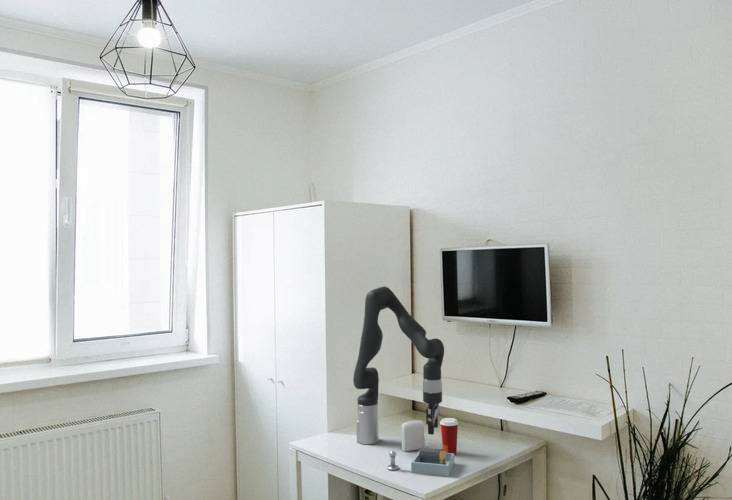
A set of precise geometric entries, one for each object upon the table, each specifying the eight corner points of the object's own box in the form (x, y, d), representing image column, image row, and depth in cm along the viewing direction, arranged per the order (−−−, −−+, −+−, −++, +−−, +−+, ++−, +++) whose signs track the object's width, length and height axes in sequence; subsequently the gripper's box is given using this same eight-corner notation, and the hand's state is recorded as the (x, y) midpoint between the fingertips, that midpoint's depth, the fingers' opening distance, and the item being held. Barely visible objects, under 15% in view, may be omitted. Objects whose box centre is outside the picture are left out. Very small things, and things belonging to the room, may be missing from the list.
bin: (411, 472, 224) (411, 462, 224) (419, 460, 237) (419, 450, 237) (448, 476, 219) (448, 465, 219) (454, 463, 233) (454, 453, 233)
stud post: (386, 470, 227) (385, 452, 227) (389, 466, 231) (388, 448, 231) (396, 471, 225) (396, 453, 225) (399, 467, 230) (399, 449, 230)
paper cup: (461, 451, 247) (460, 418, 247) (456, 457, 240) (455, 423, 240) (443, 449, 250) (442, 416, 250) (438, 454, 243) (437, 421, 243)
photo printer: (404, 452, 247) (403, 423, 247) (400, 449, 251) (399, 420, 251) (426, 449, 250) (425, 420, 250) (422, 446, 254) (421, 418, 254)
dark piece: (444, 468, 225) (444, 452, 225) (419, 465, 228) (419, 450, 228) (446, 464, 229) (446, 449, 229) (421, 462, 232) (421, 447, 232)
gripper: (426, 385, 236) (427, 424, 236) (419, 393, 223) (420, 435, 223) (444, 386, 234) (445, 426, 234) (438, 394, 221) (439, 437, 221)
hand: (433, 430), depth 229 cm, fingers open, 8 cm apart
